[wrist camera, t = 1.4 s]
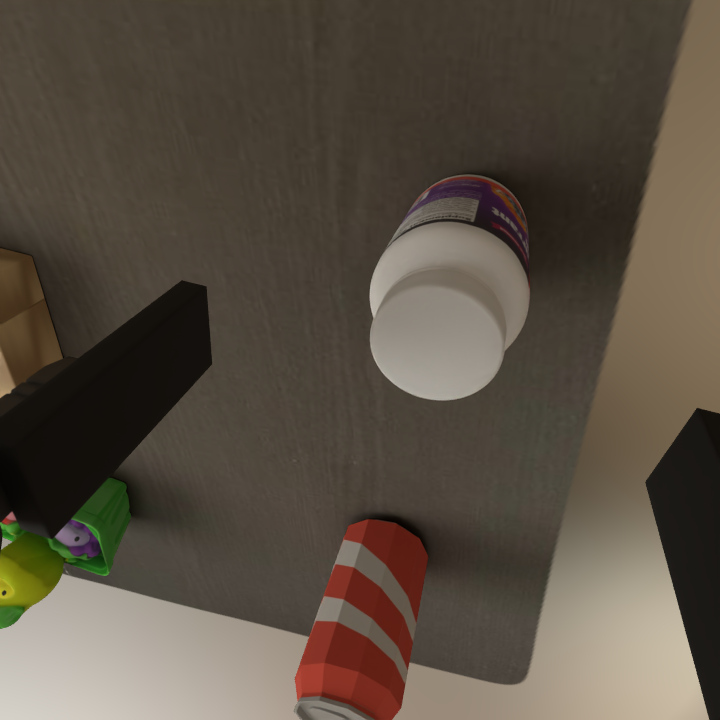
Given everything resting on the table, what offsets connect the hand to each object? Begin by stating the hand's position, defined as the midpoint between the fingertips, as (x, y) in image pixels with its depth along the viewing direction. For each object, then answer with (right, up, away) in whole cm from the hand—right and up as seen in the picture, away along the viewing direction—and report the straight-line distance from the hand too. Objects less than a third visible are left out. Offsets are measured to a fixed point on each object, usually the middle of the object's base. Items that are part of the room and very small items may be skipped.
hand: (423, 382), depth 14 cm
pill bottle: (+3, +6, +9) cm, 11 cm away
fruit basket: (-26, -11, +31) cm, 42 cm away
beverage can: (0, -13, +23) cm, 26 cm away
